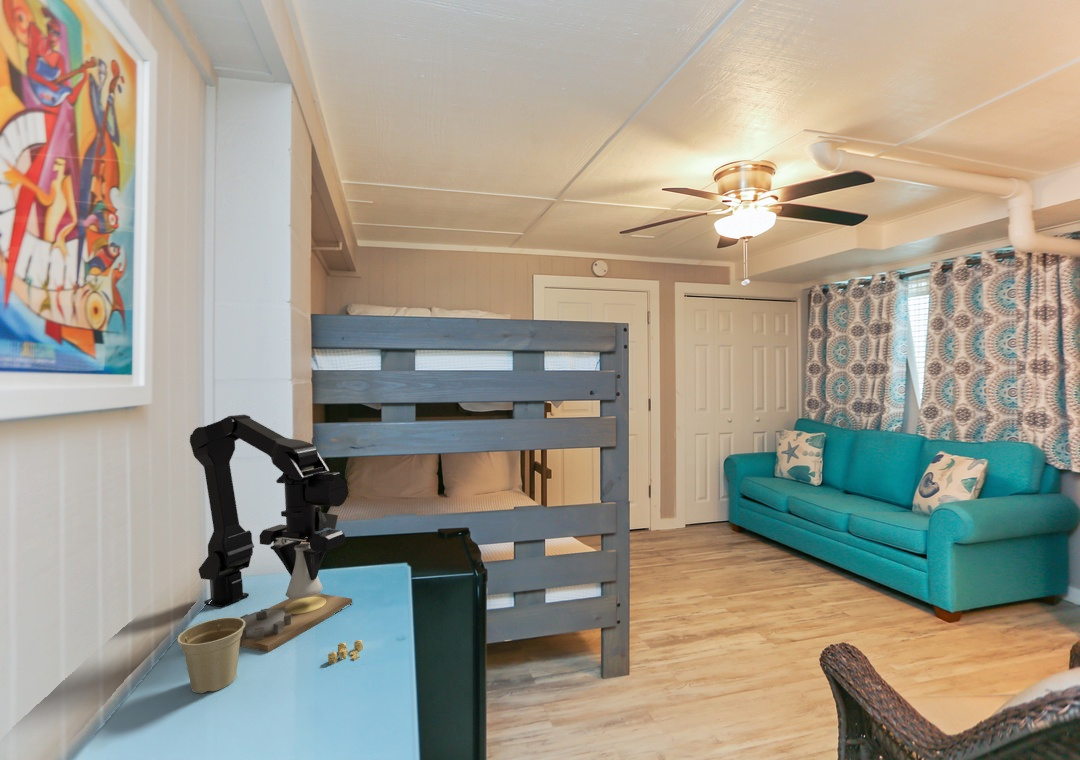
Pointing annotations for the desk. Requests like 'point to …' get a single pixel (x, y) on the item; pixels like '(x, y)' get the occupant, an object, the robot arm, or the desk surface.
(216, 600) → the robot arm
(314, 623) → the gear board
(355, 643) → the dice set
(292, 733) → the desk surface
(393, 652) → the desk surface
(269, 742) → the desk surface
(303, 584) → the flask
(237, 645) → the flower pot
